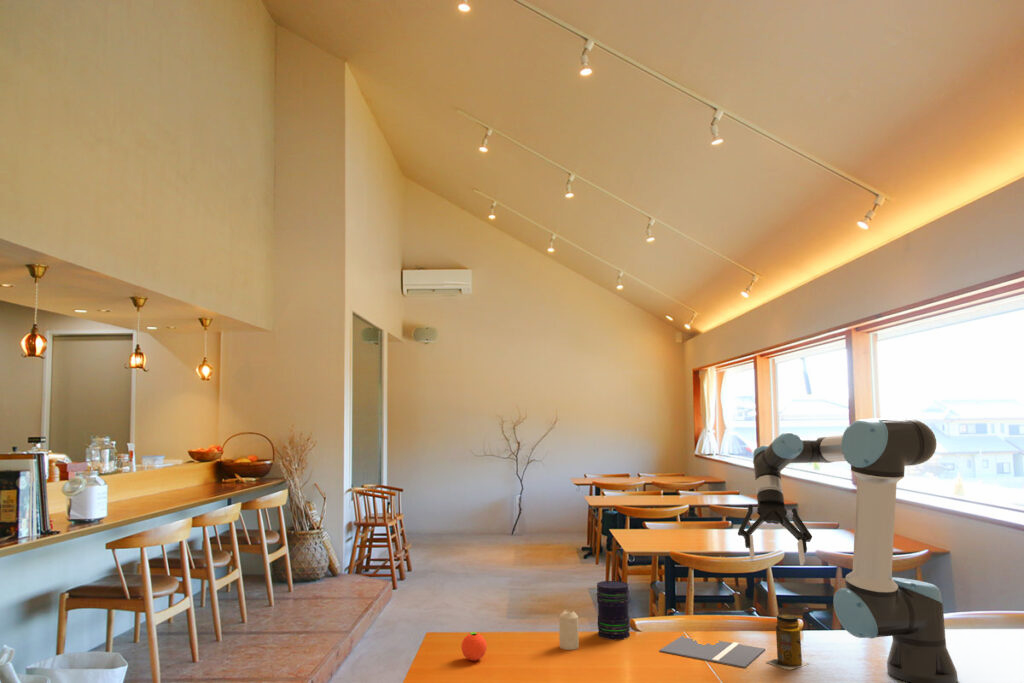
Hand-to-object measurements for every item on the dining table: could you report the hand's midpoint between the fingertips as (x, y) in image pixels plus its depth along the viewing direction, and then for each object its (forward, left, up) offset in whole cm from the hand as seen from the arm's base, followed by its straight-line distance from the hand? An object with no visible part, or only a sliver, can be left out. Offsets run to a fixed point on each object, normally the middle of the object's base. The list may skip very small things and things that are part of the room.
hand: (777, 561), depth 191 cm
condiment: (-3, +9, -25) cm, 27 cm away
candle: (+52, +30, -25) cm, 64 cm away
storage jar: (+47, +12, -25) cm, 54 cm away
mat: (+17, +10, -25) cm, 31 cm away
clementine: (+68, +54, -25) cm, 90 cm away
